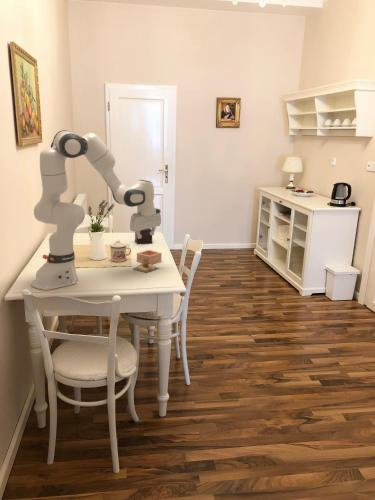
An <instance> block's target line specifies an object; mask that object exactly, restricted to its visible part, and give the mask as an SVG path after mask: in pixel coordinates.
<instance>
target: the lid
mask: <svg viewBox="0 0 375 500" xmlns="http://www.w3.org/2000/svg"><path fill="white" fill-rule="evenodd" d="M136 267H137V270H136V271H138V270H140V271H139V272H141V271H151V270H153V271H155V270H154V269H155V267H156V266H155V265H154V264H148V259H143V263H140V264H138V265H137V266H136ZM151 272H152V271H151Z"/></svg>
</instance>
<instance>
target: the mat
mask: <svg viewBox="0 0 375 500" xmlns="http://www.w3.org/2000/svg"><path fill="white" fill-rule="evenodd" d="M159 268H160V267H157V266H155V269H154V270H151V271H140V270H137V266H136V267H133V268H132V270H135V271H138V272H141V273H145V274H147V273H150V272H153V271H156V270H159Z"/></svg>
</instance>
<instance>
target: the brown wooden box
mask: <svg viewBox="0 0 375 500" xmlns="http://www.w3.org/2000/svg"><path fill="white" fill-rule="evenodd" d="M151 230H152V228H148V229H144V230H140V235H142V238H140V239H138V238H137V234H136V232H134V242H135V243H136V244H137V245H150V244H153V235H150V232H151Z"/></svg>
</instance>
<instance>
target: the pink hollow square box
mask: <svg viewBox="0 0 375 500" xmlns="http://www.w3.org/2000/svg"><path fill="white" fill-rule="evenodd" d="M143 259H148V264H151V265H154V264H157V263H160V262H162V252H159V251H155V250H151V249H145V250H144V251H139V252H137V253H136V262H137V263H140V264H143Z"/></svg>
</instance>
